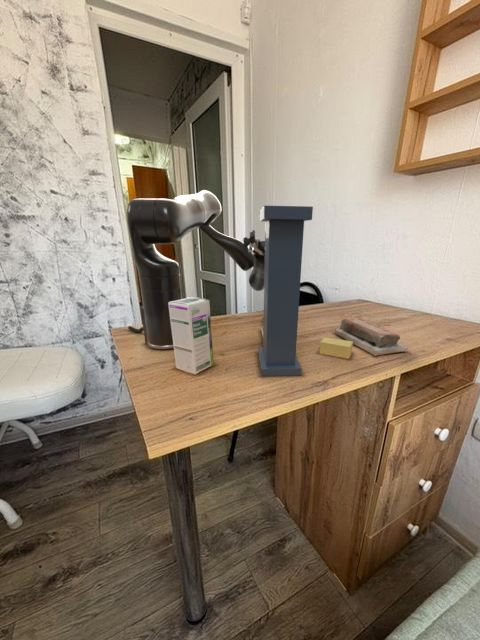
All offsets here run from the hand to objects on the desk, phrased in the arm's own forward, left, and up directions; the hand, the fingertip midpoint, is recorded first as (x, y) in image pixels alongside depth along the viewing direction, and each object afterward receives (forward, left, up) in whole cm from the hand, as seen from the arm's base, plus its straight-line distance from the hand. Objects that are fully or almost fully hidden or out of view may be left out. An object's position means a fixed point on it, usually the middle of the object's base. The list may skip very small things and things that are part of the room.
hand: (268, 233), depth 83 cm
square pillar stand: (+15, -26, -27) cm, 40 cm away
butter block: (+25, -14, -27) cm, 39 cm away
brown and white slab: (+4, -7, -27) cm, 28 cm away
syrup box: (0, -36, -27) cm, 45 cm away
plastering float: (+31, -2, -27) cm, 41 cm away
